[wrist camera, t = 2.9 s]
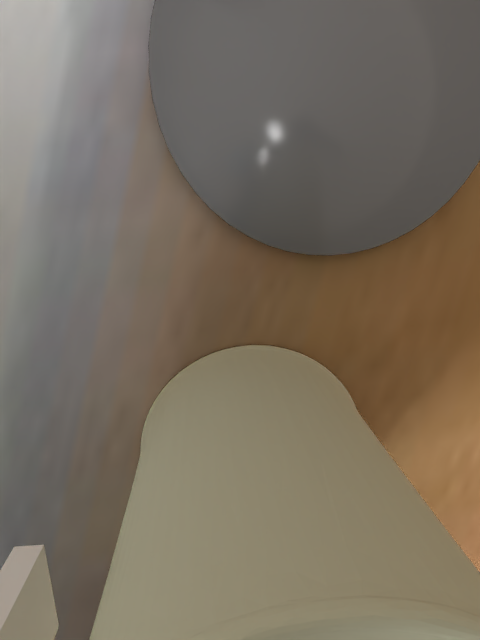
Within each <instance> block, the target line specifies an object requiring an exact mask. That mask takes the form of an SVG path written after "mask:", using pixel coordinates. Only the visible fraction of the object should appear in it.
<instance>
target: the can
mask: <svg viewBox="0 0 480 640" xmlns="http://www.w3.org/2000/svg"><path fill="white" fill-rule="evenodd" d="M89 640H480V572H479V571H478V570H477V569H476V567H475V566H474V565H473V563H472V562H471V561H470V560H469V558H468V557H467V556H466V554H465V553H464V552H463V551H462V549H461V548H460V547H459V545H458V544H457V543H456V542H455V540H454V539H453V538H452V536H451V535H450V534H449V533H448V531H447V530H446V529H445V527H444V526H443V525H442V523H441V522H440V521H439V519H438V518H437V517H436V515H435V514H434V513H433V512H432V510H431V509H430V508H429V506H428V505H427V504H426V502H425V501H424V500H423V498H422V497H421V496H420V494H419V493H418V492H417V490H416V489H415V488H414V487H413V485H412V484H411V483H410V481H409V480H408V479H407V477H406V476H405V475H404V473H403V472H402V471H401V469H400V468H399V467H398V466H397V464H396V463H395V462H394V460H393V459H392V458H391V456H390V455H389V453H388V452H387V451H386V449H385V448H384V447H383V445H382V444H381V443H380V441H379V440H378V438H377V437H376V436H375V434H374V433H373V432H372V430H371V429H370V428H369V426H368V425H367V423H366V422H365V421H364V419H363V418H362V417H361V415H360V414H359V412H358V411H357V409H356V406H355V404H354V402H353V400H352V398H351V396H350V394H349V393H348V391H347V390H346V388H345V387H344V386H343V384H342V383H341V382H340V381H339V380H338V379H337V378H336V376H335V375H334V374H332V373H331V372H330V371H329V370H328V369H327V368H326V367H324V366H323V365H321V364H320V363H318V362H317V361H315V360H313V359H311V358H310V357H308V356H306V355H303V354H301V353H298V352H296V351H293V350H289V349H285V348H281V347H275V346H267V345H247V346H238V347H232V348H228V349H224V350H221V351H217V352H214V353H211V354H209V355H207V356H205V357H203V358H201V359H199V360H197V361H195V362H194V363H192V364H190V365H189V366H187V367H186V368H184V369H183V370H182V371H180V372H179V373H178V374H177V375H176V376H175V377H174V378H172V379H171V380H170V381H169V383H168V384H167V385H166V386H165V387H164V388H163V389H162V391H161V392H160V394H159V395H158V396H157V398H156V399H155V401H154V403H153V405H152V406H151V408H150V411H149V413H148V415H147V417H146V420H145V424H144V427H143V431H142V437H141V445H140V458H139V462H138V466H137V470H136V474H135V478H134V482H133V486H132V489H131V493H130V497H129V500H128V504H127V507H126V511H125V515H124V518H123V522H122V526H121V529H120V533H119V537H118V540H117V544H116V548H115V551H114V555H113V558H112V562H111V566H110V569H109V573H108V577H107V580H106V583H105V587H104V590H103V594H102V597H101V601H100V604H99V608H98V611H97V615H96V618H95V622H94V625H93V629H92V632H91V635H90V639H89Z"/></svg>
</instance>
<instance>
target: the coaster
mask: <svg viewBox="0 0 480 640" xmlns="http://www.w3.org/2000/svg"><path fill="white" fill-rule="evenodd" d="M148 50H149V77H150V84H151V92H152V99H153V103H154V107H155V111H156V115H157V119H158V122H159V126H160V129H161V131H162V134H163V136H164V139H165V141H166V144H167V146H168V149H169V151H170V153H171V155H172V157H173V158H174V160H175V162H176V164H177V166H178V168H179V170H180V171H181V173H182V174H183V176H184V177H185V179H186V180H187V181H188V183H189V184H190V186H191V187H192V188H193V190H194V191H195V193H196V194H197V195H198V196H199V197H200V198H201V199H202V200H203V201H204V202H205V203H206V205H207V206H208V207H209V208H210V209H211V210H212V211H214V212H215V213H216V214H217V215H218V216H220V217H221V218H222V219H223V220H224V221H226V222H227V223H228V224H229V225H231V226H233V227H234V228H236V229H237V230H239V231H241V232H242V233H244V234H245V235H247V236H249V237H251V238H253V239H255V240H258V241H260V242H262V243H264V244H266V245H269V246H272V247H275V248H279V249H282V250H285V251H289V252H295V253H301V254H307V255H339V254H348V253H354V252H359V251H363V250H367V249H371V248H374V247H377V246H379V245H382V244H385V243H387V242H390V241H392V240H394V239H396V238H398V237H400V236H402V235H404V234H406V233H407V232H409V231H411V230H413V229H414V228H416V227H417V226H419V225H420V224H421V223H423V222H424V221H426V220H427V219H428V218H430V217H431V216H432V215H434V214H435V213H436V212H437V211H438V210H439V209H440V208H441V207H442V206H443V205H445V204H446V203H447V202H448V201H449V200H450V199H451V197H452V196H453V195H454V194H455V193H456V192H457V191H458V189H459V188H460V187H461V186H462V185H463V184H464V182H465V181H466V180H467V178H468V177H469V175H470V174H471V172H472V171H473V169H474V168H475V167H476V165H477V164H478V162H479V160H480V0H155V2H154V7H153V11H152V16H151V24H150V34H149V45H148Z"/></svg>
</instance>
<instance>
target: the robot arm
mask: <svg viewBox="0 0 480 640" xmlns="http://www.w3.org/2000/svg"><path fill="white" fill-rule="evenodd" d="M58 628H59V623H58V617H57V612H56V607H55V601H54V596H53V590H52V585H51V580H50V574H49V569H48V564H47V558H46V553H45V547H44V545H31V546H17V547H14V548H13V550H12V551H11V553H10V555H9V556H8V558H7V560H6V561H5V563H4V565H3V566H2V568H1V570H0V640H54V639H55V636H56V633H57V631H58Z"/></svg>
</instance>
